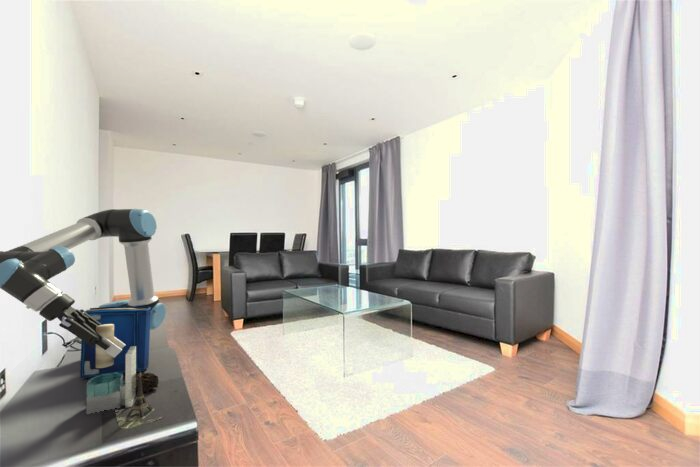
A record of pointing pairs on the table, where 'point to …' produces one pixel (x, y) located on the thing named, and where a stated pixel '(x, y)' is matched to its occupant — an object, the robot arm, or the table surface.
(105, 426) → the table surface
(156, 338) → the table surface
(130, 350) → the bracket
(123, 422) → the eiffel tower figurine
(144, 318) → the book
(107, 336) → the beige wooden block
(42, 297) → the robot arm
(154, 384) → the dark brown rounded block
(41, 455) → the table surface
